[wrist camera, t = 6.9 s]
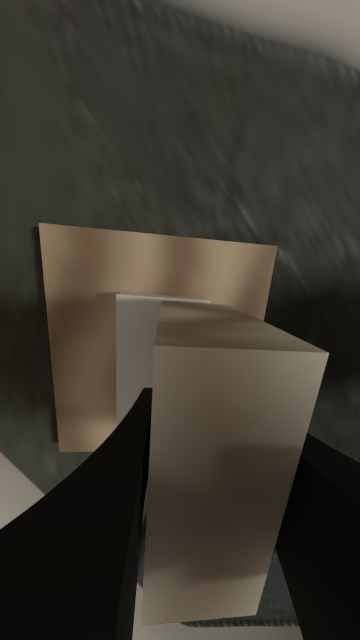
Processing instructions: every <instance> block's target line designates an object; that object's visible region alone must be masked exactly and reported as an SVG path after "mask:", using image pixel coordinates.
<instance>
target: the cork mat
mask: <svg viewBox="0 0 360 640" xmlns="http://www.w3.org/2000/svg"><path fill="white" fill-rule="evenodd" d="M39 232H40V243H41V254H42V265H43V276H44V287H45V298H46V309H47V320H48V331H49V342H50V353H51V364H52V375H53V386H54V397H55V408H56V419H57V430H58V441H59V452H94V451H95V450H96V449H97V448H98V447H99V446H100V445H101V444H102V443H103V442H104V441H105V440H106V439H107V438H108V436H109V435H110V434H111V433H112V432H113V431H114V429H115V428H116V294H118V293H121V292H126V293H141V294H155V295H170V296H185V297H200V298H206V299H208V300H210V304H225V305H231V306H233V307H235V308H237V309H239V310H241V311H243V312H245V313H247V314H249V315H251V316H253V317H256V318H258V319H260V320H262V321H264V316H265V311H266V306H267V300H268V295H269V289H270V284H271V279H272V273H273V268H274V262H275V257H276V251H277V246H271V245H260V244H250V243H240V242H229V241H219V240H209V239H199V238H188V237H178V236H168V235H157V234H147V233H137V232H127V231H116V230H106V229H96V228H85V227H75V226H65V225H55V224H44V223H39Z"/></svg>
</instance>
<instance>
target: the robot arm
mask: <svg viewBox="0 0 360 640" xmlns="http://www.w3.org/2000/svg"><path fill="white" fill-rule="evenodd" d="M152 392H153V388H146V387H144V388H143V389H142V391H141V393H140V395H139V396H138V398H137V400H136V401H135V403H134V404H133V406H132V407H131V409H130V410H129V411H128V413H127V414H126V416H125V417H124V418H123V420H122V421H121V422H120V423H119V424H118V426H117V427H116V428H115V429H114V431H113V432H112V433H111V434H110V435H109V436H108V438H107V439H106V440H105V441H104V442H103V443H102V444H101V445H100V446H99V447H98V448H97V449H96V450H95V451H94V452H93V453H92V454H91V455H90V456H89V457H88V458H87V459H86V460H85V461H84V462H83V463H82V464H81V465H80V466H79V467H78V468H76V469H75V470H74V471H73V472H72V473H71V474H70V475H69V476H68V477H66V478H65V479H64V480H63V481H62V482H60V483H59V484H58V485H57V486H56V487H54V488H53V489H52V490H51V491H50V492H48V493H47V494H46V495H45V496H44V497H42V498H41V499H40V500H39V501H38V502H36V503H35V504H34V505H33V506H31V507H30V508H29V509H27V510H26V511H25V512H23V513H22V514H20V515H19V516H18V517H17V518H15V519H14V520H12V521H11V522H10V523H8V524H7V525H6V526H4V527H3V528H2V529H0V640H132V634H133V622H134V621H133V620H134V610H135V598H136V586H137V575H138V563H139V551H140V540H141V529H142V517H143V508H144V500H145V493H146V487H147V481H148V474H149V456H150V434H151V413H152ZM275 548H276V551H277V554H278V557H279V561H280V564H281V567H282V570H283V573H284V576H285V579H286V583H287V586H288V589H289V593H290V596H291V599H292V603H293V606H294V609H295V613H296V616H297V619H298V623H299V626H300V629H301V633H302V636H303V640H360V463H359V462H357V461H355V460H354V459H352V458H350V457H348V456H346V455H344V454H342V453H340V452H339V451H337V450H335V449H333V448H332V447H330V446H328V445H326V444H325V443H323V442H321V441H320V440H318V439H316V438H315V437H313V436H311V435H310V434H308V433H307V434H306V438H305V441H304V445H303V448H302V452H301V456H300V459H299V463H298V466H297V470H296V473H295V477H294V480H293V484H292V488H291V491H290V495H289V498H288V502H287V505H286V509H285V512H284V516H283V520H282V523H281V527H280V530H279V534H278V537H277V541H276V545H275Z"/></svg>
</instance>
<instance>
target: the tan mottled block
mask: <svg viewBox="0 0 360 640" xmlns="http://www.w3.org/2000/svg"><path fill="white" fill-rule="evenodd" d="M328 356H329V353H328V352H326V351H324V350H322V349H320V348H318V347H316V346H314V345H312V344H310V343H307V342H305V341H303V340H301V339H299V338H297V337H295V336H293V335H291V334H289V333H287V332H285V331H283V330H280V329H278V328H276V327H274V326H272V325H270V324H268V323H266V322H264V321H262V320H260V319H258V318H256V317H253V316H251V315H249V314H247V313H245V312H243V311H241V310H239V309H237V308H235V307H233V306H231V305H225V304H210V303H194V302H179V301H164V300H161V305H160V312H159V319H158V326H157V333H156V340H155V350H154V371H153V392H152V413H151V434H150V456H149V477H148V498H147V519H146V540H145V561H144V583H143V604H142V626H144V625H155V624H164V623H175V622H186V621H197V620H207V619H218V618H228V617H239V616H249V615H256V612H257V609H258V605H259V601H260V598H261V594H262V591H263V587H264V584H265V580H266V577H267V573H268V569H269V566H270V562H271V559H272V555H273V552H274V548H275V545H276V541H277V537H278V534H279V530H280V527H281V523H282V520H283V516H284V512H285V509H286V505H287V502H288V498H289V495H290V491H291V488H292V484H293V480H294V477H295V473H296V470H297V466H298V463H299V459H300V456H301V452H302V448H303V445H304V441H305V438H306V434H307V431H308V427H309V423H310V420H311V416H312V413H313V409H314V406H315V402H316V399H317V395H318V391H319V388H320V384H321V381H322V377H323V374H324V370H325V367H326V363H327V359H328Z"/></svg>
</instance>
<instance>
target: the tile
mask: <svg viewBox="0 0 360 640" xmlns="http://www.w3.org/2000/svg"><path fill="white" fill-rule="evenodd" d="M161 300H164V301H179V302H194V303H210V300H208V299H206V298H200V297H185V296H170V295H155V294H141V293H126V292H121V293H118V294H116V427H117V426H118V424H119V423H120V422H121V421H122V420H123V418H124V417H125V416H126V414H127V413H128V411H129V410H130V409H131V407H132V406H133V404H134V403H135V401H136V400H137V398H138V396H139V395H140V393H141V391H142V389H143V388H144V387H146V388H153V371H154V350H155V340H156V333H157V326H158V319H159V312H160V305H161Z"/></svg>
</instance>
